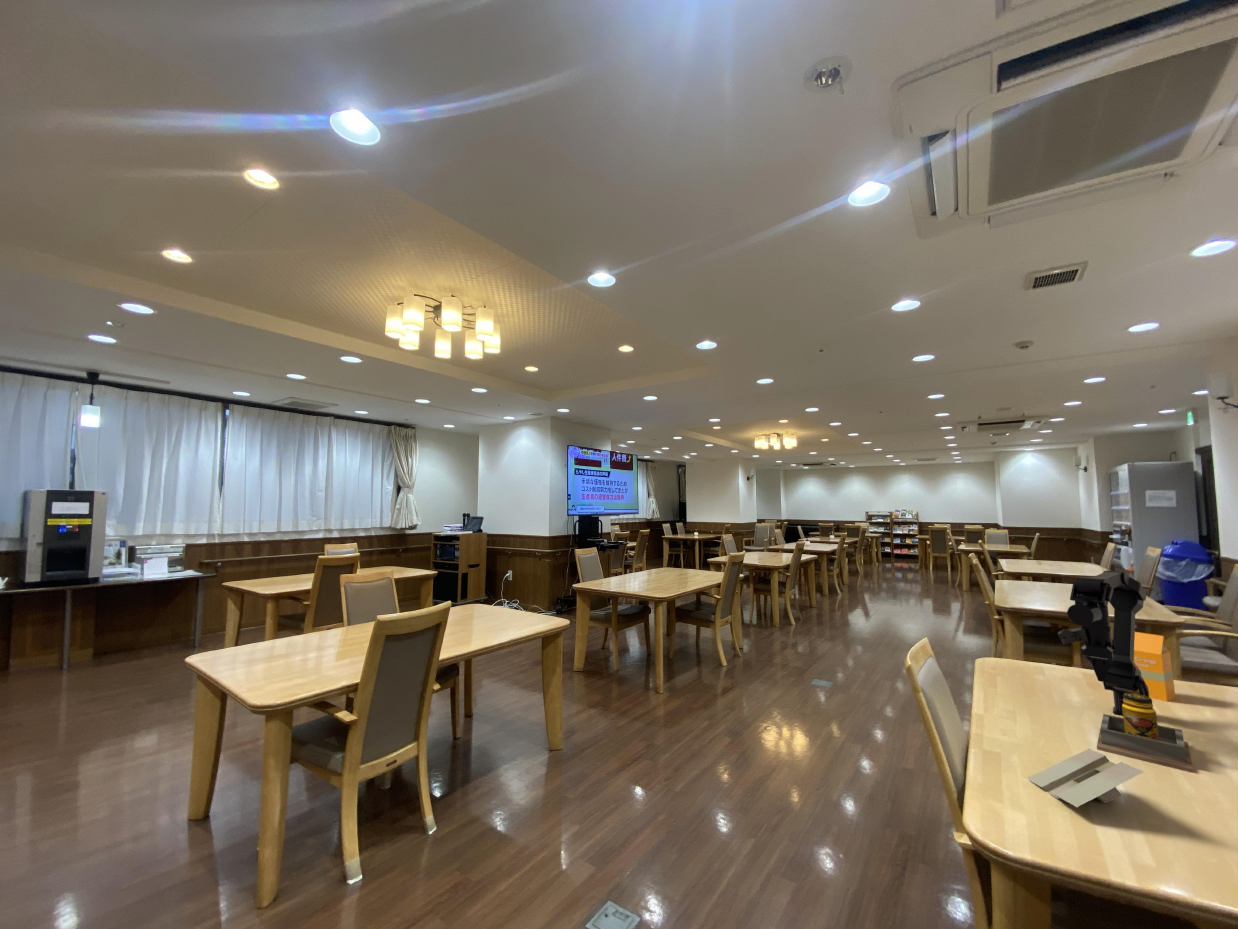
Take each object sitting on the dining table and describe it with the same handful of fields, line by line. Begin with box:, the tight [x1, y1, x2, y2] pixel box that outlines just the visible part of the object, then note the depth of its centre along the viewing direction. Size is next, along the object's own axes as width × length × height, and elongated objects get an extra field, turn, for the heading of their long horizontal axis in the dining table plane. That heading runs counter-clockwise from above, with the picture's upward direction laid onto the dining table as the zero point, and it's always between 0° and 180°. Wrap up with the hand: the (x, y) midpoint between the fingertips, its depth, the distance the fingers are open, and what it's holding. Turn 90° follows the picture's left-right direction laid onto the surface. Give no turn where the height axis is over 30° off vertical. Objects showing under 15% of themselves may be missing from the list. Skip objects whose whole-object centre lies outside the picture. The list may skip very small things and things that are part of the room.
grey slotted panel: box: [1027, 748, 1144, 808], centre depth 102 cm, size 16×9×15 cm
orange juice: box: [1134, 631, 1177, 702], centre depth 164 cm, size 8×9×20 cm
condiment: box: [1122, 693, 1159, 741], centre depth 127 cm, size 7×8×12 cm
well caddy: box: [1096, 713, 1194, 773], centre depth 126 cm, size 20×16×4 cm
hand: (1101, 677), depth 140 cm, fingers open, 9 cm apart
